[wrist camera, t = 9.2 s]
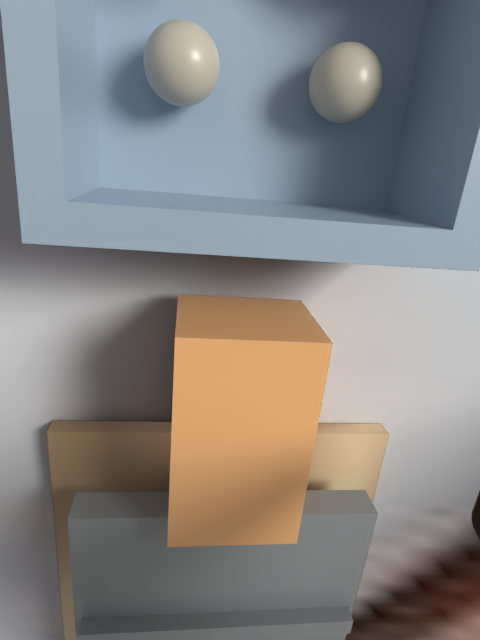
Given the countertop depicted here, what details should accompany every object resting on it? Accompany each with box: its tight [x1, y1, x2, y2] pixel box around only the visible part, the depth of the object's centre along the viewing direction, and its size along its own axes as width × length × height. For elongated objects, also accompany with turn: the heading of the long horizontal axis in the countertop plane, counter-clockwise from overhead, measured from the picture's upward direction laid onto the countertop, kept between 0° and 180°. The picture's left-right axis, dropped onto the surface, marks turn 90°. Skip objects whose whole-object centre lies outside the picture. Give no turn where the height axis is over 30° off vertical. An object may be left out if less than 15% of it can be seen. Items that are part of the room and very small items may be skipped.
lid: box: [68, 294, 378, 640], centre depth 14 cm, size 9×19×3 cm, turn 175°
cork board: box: [47, 421, 389, 640], centre depth 17 cm, size 11×15×1 cm
